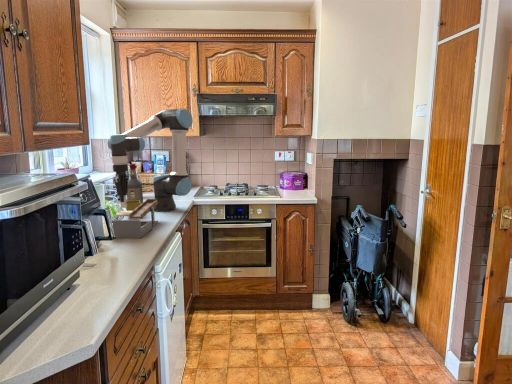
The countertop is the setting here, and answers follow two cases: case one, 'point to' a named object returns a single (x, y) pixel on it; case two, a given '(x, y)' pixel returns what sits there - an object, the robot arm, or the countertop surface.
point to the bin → (131, 228)
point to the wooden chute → (140, 209)
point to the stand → (151, 218)
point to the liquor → (134, 186)
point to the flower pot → (132, 205)
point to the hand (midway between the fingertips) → (123, 207)
